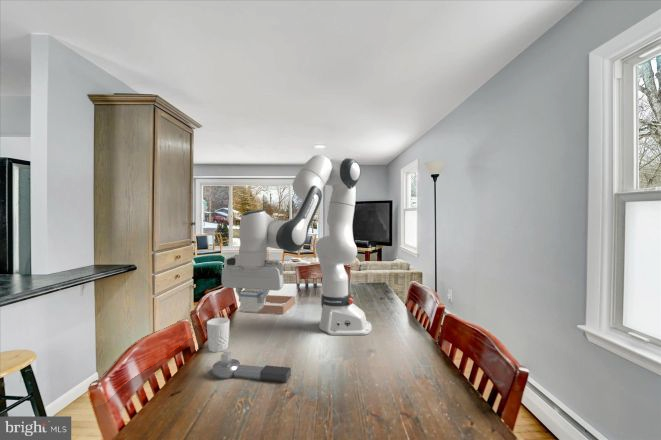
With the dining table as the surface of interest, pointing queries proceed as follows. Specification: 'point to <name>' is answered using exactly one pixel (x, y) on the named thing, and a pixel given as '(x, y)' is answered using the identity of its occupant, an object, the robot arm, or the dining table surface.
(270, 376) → the ratchet
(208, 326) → the white cup
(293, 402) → the dining table surface
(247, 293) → the pale grey cube
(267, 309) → the tray
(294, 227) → the robot arm
